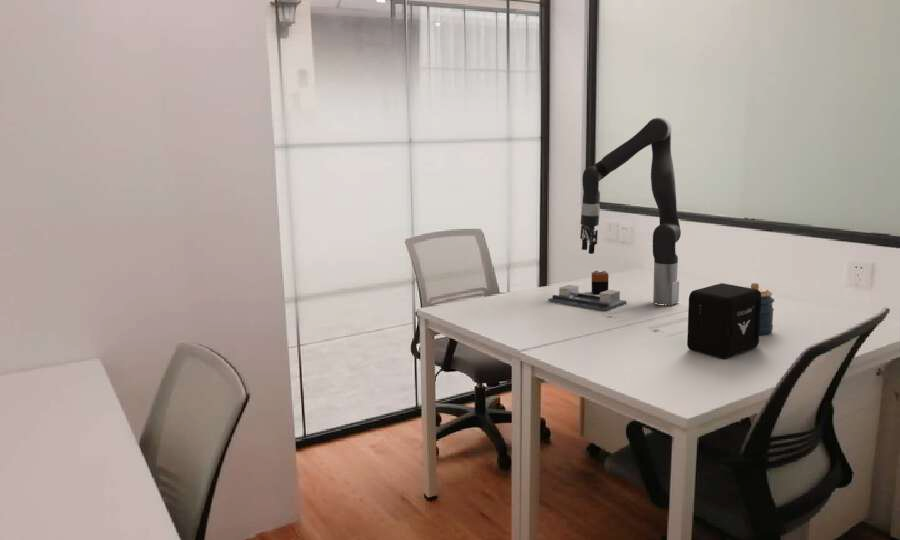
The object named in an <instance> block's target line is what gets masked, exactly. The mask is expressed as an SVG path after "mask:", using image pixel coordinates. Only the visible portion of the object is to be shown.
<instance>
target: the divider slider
mask: <svg viewBox="0 0 900 540" xmlns="http://www.w3.org/2000/svg"><path fill="white" fill-rule="evenodd" d="M558 289H559V291H558V294H559V295H558V296H563V297H569V298H572V297H575V296H578V293H580V292H579V291H580V290H579V289H580V288H579V286H578V285H574V284H573V285H572V284H566V285H563V286H561V287H559V288H558Z"/></svg>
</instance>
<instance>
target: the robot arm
mask: <svg viewBox="0 0 900 540" xmlns="http://www.w3.org/2000/svg"><path fill="white" fill-rule="evenodd" d="M671 145H672V125H671V123H670V121H668V120H667V119H665V118H662V117H655V118H652V119H650V120H649V121H648V123H646V124H645V125H644V126H643V127H642V128H641V129H640V130H639V131H638V132H637V133H636V134H635V135H634V136H632V137H631V138H629V139H628V140H627V141H625V142H624V143H622V144H620V145H619V146H618V147H616V148H615V149H613V150H612V151H610V152H609V153H607V154H606V155H604V156H603V158H602V159H601V160H599V161H598V162H597V163H595V164H593V165H591V166H588V167H587V168H585V169H584V170H583V173H582V180H581V181H582V190H583V194H582V205H581V210H580V211H581V212H580V225H581V226H580V234H579V236H580V239H581V250H583V251H587V250H588V254H590V255H593V254H595V247H596V245H598V235H599V234H598V231H599V230H598V229H595V227H598V226H599V223H600V201H601V192H600V190H599V183H600V181H602V180H603V179H604V178H606V177H607V176H608V175H609V174H610V173H612V172H614V171H615V170H617V169H619V168H620V167H621V166H623V165H624V164H626V163H627V162H628V161H630V159H632V158H633V157H634V156H635V155H637V154H638V153H639V152H640V151H642V150H643V149H645V148H647V147H648V146H651V152H652V154H651V157H652V159H651V166H650V168H651V169H650V183H651V192H652V196H653V199H654V201H655V203H656V206H657V209H658V215H659V216H658V217H659V225H658V226H656V227H655V228H654V229H653V232H652V233H653V234H652V256H653V297H652V299H653V300H652V301H653V302H654V303H657V304H664V305H665V304H666V305H673V304H675V303H677V302H679V301H680V299H679V298H680V297H679V296H680V281H679V280H678V267H679V265H678V264H679V256H678V254H677V253H676V243H678V241H679V240H680V238H681V234H682V233H681V232H682V230H681V226H680V221H679V216H678V209H677V192H676V191H677V190H676V176H675V171H674V170H675V169H674V163H673V157H672V148H671V147H672V146H671ZM653 302H652V303H653ZM654 303H653V304H654ZM675 305H676V304H675ZM673 306H674V305H673Z"/></svg>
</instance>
